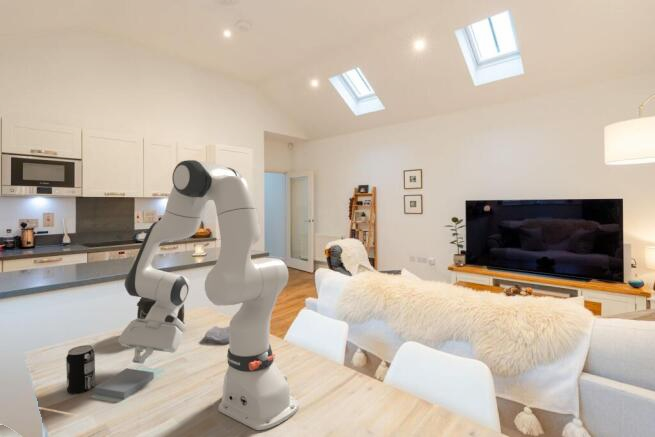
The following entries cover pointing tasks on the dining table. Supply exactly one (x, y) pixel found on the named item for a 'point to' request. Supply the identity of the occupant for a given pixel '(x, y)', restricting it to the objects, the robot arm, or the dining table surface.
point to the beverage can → (80, 369)
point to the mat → (156, 374)
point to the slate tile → (124, 383)
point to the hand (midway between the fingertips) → (137, 362)
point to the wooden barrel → (146, 305)
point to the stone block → (218, 335)
